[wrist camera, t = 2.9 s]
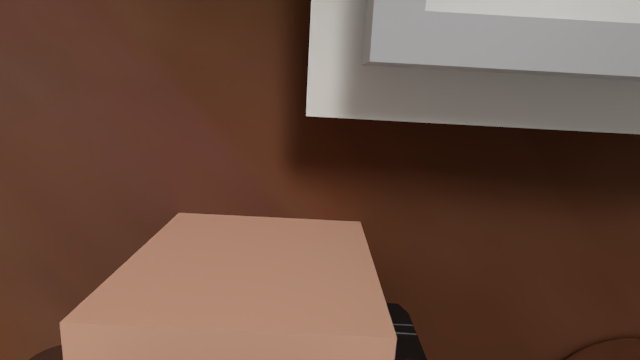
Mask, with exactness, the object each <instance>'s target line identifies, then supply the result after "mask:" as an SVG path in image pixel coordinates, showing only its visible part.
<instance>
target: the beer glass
mask: <svg viewBox="0 0 640 360" xmlns="http://www.w3.org/2000/svg"><path fill="white" fill-rule="evenodd" d="M565 360H640V338H620V339H613V340H608V341H604V342H600V343H597V344H594V345H591V346H588V347H586V348H584V349H582V350H580V351H578V352H576V353H574V354H573V355H571V356H569V357H568V358H567V359H565Z"/></svg>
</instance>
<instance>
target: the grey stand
mask: <svg viewBox="0 0 640 360" xmlns="http://www.w3.org/2000/svg"><path fill="white" fill-rule="evenodd" d="M306 116H311V117H329V118H348V119H366V120H385V121H403V122H421V123H440V124H458V125H477V126H495V127H513V128H532V129H550V130H569V131H587V132H605V133H624V134H640V0H311V14H310V36H309V57H308V79H307V100H306Z"/></svg>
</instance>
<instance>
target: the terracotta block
mask: <svg viewBox="0 0 640 360" xmlns="http://www.w3.org/2000/svg"><path fill="white" fill-rule="evenodd" d="M60 332H61V343H62V353H63V360H395V352H396V342H397V336H396V333H395V330H394V327H393V323H392V320H391V317H390V314H389V311H388V308H387V304H386V301H385V298H384V295H383V292H382V289H381V285H380V282H379V279H378V276H377V273H376V270H375V266H374V263H373V260H372V257H371V254H370V251H369V247H368V244H367V241H366V238H365V235H364V232H363V228H362V225H361V222H357V221H336V220H316V219H295V218H275V217H255V216H234V215H214V214H193V213H178V214H177V215H176V216H175V217H174V218H173V219H172V220H171V221H170V222H169V223H167V224H166V225H165V226H164V227H163V228H162V229H161V230H160V231H159V232H158V233H157V234H156V235H154V236H153V237H152V238H151V239H150V240H149V241H148V242H147V243H146V244H145V245H144V246H142V247H141V248H140V249H139V250H138V251H137V252H136V253H135V254H134V255H133V256H132V257H130V258H129V259H128V260H127V261H126V262H125V263H124V264H123V265H122V266H121V267H120V268H118V269H117V270H116V271H115V272H114V273H113V274H112V275H111V276H110V277H109V278H108V279H107V280H105V281H104V282H103V283H102V284H101V285H100V286H99V287H98V288H97V289H96V290H95V291H93V292H92V293H91V294H90V295H89V296H88V297H87V298H86V299H85V300H84V301H83V302H81V303H80V304H79V305H78V306H77V307H76V308H75V309H74V310H73V311H72V312H71V313H70V314H68V315H67V316H66V317H65V318H64V319H63V320H62V321H61V322H60Z"/></svg>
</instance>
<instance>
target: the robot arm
mask: <svg viewBox="0 0 640 360" xmlns="http://www.w3.org/2000/svg"><path fill="white" fill-rule="evenodd" d="M386 304H387V308H388V311H389V314H390V317H391V320H392V323H393V327H394V330H395V333H396V336H397V342H396V352H395V360H427V359H426V356H425V354H424V351H423V349H422V346H421V344H420V341H419V339H418V336H417V335H416V331H415V329H414V326H413V324H412V321H411V319H410V316H409V314H408V313H407V312H406V311H405V310H404V309H403V308H402V307H401V306H400V305H399V304H391V303H386ZM29 360H63V353H62V345H60V346H56V347H52V348H49V349H47V350H44V351H42V352H40V353H38V354H36V355H35V356H33V357H32V358H30V359H29Z"/></svg>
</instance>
